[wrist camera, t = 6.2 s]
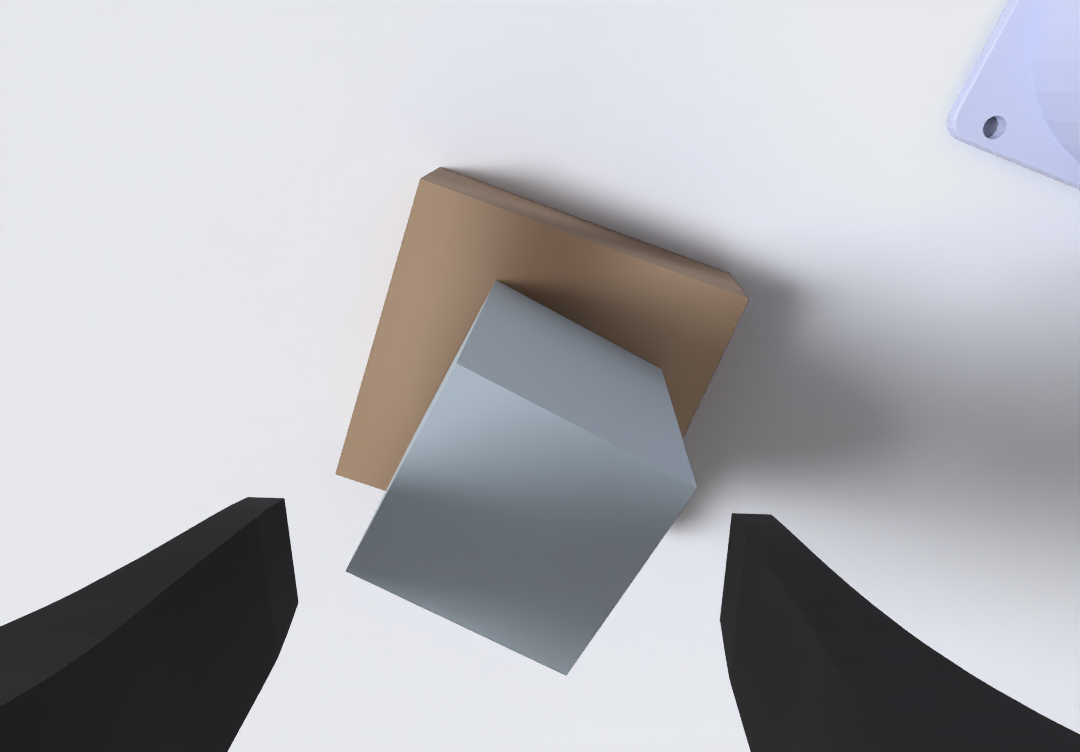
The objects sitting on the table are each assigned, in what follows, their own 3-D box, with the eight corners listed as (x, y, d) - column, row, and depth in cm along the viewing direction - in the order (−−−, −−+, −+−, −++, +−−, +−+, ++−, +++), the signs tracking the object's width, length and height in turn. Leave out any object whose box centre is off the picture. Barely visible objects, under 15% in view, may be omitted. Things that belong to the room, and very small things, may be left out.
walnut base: (726, 269, 20) (749, 298, 18) (616, 510, 23) (620, 568, 20) (443, 165, 20) (419, 178, 17) (365, 425, 23) (335, 474, 20)
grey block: (661, 369, 18) (697, 488, 13) (570, 511, 20) (566, 675, 14) (495, 280, 18) (455, 362, 12) (414, 433, 19) (345, 571, 14)
